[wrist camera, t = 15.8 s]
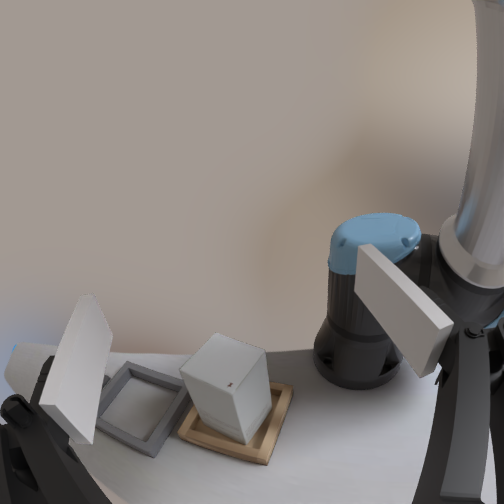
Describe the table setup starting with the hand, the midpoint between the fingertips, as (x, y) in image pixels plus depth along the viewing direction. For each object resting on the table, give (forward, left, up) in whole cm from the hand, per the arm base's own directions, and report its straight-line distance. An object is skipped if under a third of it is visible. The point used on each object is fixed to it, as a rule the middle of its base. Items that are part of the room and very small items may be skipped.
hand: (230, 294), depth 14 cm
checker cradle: (-5, -22, -30) cm, 38 cm away
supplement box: (-9, -7, -30) cm, 32 cm away
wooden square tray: (-9, -7, -30) cm, 32 cm away
